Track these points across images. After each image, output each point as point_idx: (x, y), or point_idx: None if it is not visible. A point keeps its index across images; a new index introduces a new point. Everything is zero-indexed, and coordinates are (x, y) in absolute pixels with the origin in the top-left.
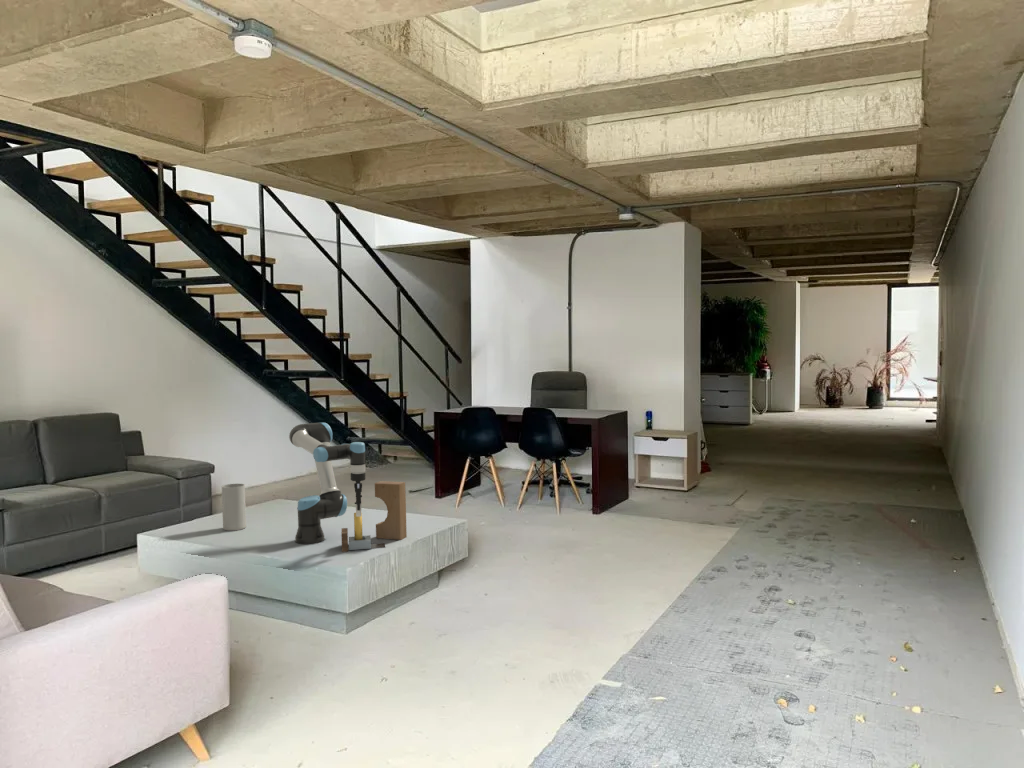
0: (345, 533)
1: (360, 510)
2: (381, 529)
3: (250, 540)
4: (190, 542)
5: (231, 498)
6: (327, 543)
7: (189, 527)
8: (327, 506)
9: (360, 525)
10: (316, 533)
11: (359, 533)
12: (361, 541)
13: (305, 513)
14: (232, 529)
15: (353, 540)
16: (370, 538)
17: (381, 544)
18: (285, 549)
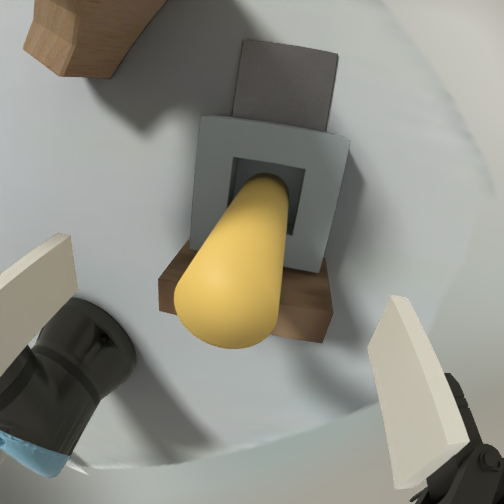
0: (315, 321)
1: (426, 361)
2: (102, 42)
3: (89, 423)
4: (102, 465)
5: (2, 454)
6: (140, 304)
7: None
8: (2, 383)
9: (282, 229)
10: (104, 354)
11: (287, 216)
12: (336, 200)
13: (75, 441)
14: None
15: (293, 242)
16: (290, 129)
17: (265, 59)
18: (189, 412)
